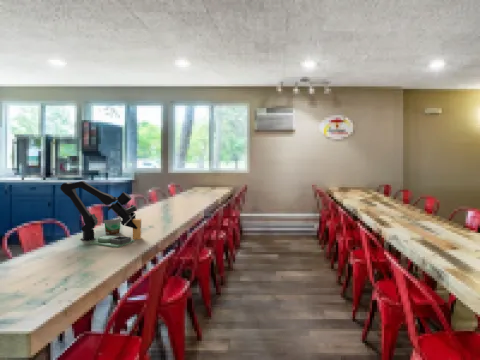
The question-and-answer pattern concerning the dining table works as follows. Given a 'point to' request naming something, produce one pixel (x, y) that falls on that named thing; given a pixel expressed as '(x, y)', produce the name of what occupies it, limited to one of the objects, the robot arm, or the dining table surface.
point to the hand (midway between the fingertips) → (138, 227)
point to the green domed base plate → (113, 241)
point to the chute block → (137, 231)
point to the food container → (112, 226)
